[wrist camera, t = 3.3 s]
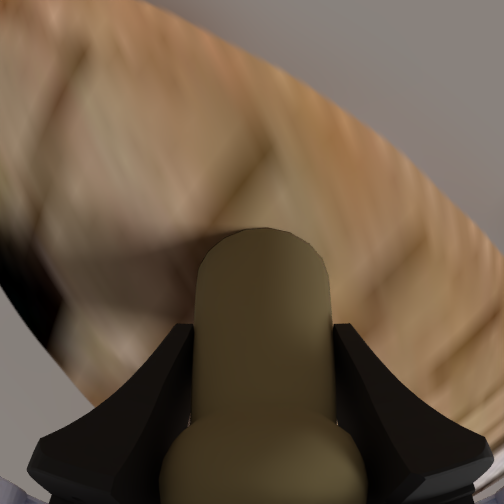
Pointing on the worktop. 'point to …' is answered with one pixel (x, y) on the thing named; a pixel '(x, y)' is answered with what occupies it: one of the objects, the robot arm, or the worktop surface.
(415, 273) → the worktop surface
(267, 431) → the cork
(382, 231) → the worktop surface
